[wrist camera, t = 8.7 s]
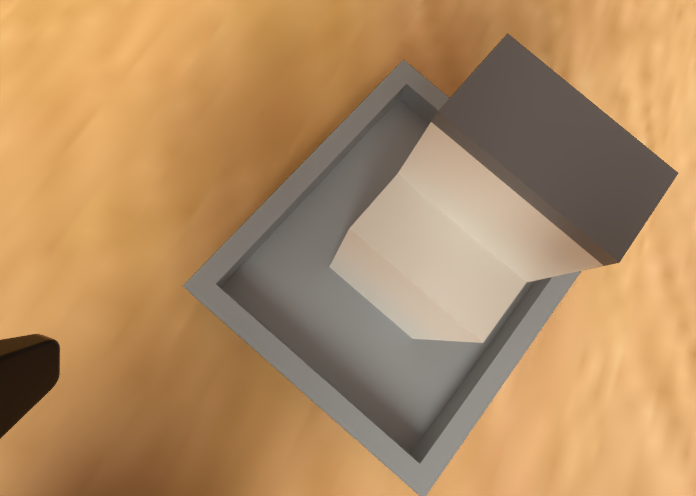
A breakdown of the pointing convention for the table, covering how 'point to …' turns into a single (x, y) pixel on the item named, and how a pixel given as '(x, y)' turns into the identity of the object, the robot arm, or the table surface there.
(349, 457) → the table surface
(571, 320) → the table surface
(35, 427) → the table surface
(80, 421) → the table surface
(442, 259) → the grey-topped stepped block
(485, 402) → the tray
